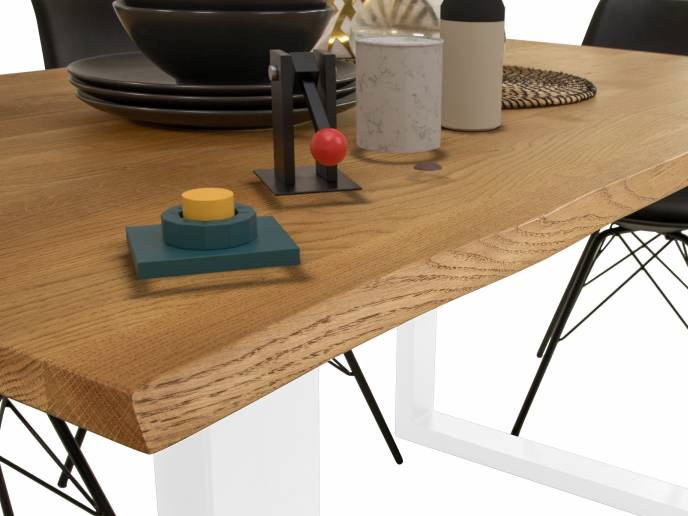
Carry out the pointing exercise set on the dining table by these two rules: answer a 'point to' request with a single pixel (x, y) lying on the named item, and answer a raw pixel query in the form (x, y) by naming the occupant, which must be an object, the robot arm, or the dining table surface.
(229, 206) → the button
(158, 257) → the control block
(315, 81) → the lever
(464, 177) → the dining table surface
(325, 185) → the bracket
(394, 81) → the white marbled canister
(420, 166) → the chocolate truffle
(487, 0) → the travel mug
